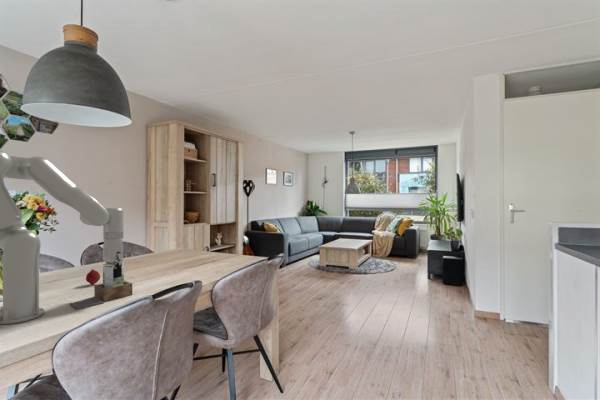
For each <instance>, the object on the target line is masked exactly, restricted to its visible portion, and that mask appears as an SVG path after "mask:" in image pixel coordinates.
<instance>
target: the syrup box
mask: <svg viewBox="0 0 600 400" xmlns="http://www.w3.org/2000/svg"><path fill="white" fill-rule="evenodd" d="M116 264H117V263H116ZM113 269H114V265H113V262H112V263H106V262H105V263H103V264H102V283H103V287H104V288H106V289H107V288H111V287H116V286H121V285H124V281H125V263H124V261H123V262H122V276H121V277H117V278H113Z"/></svg>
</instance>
